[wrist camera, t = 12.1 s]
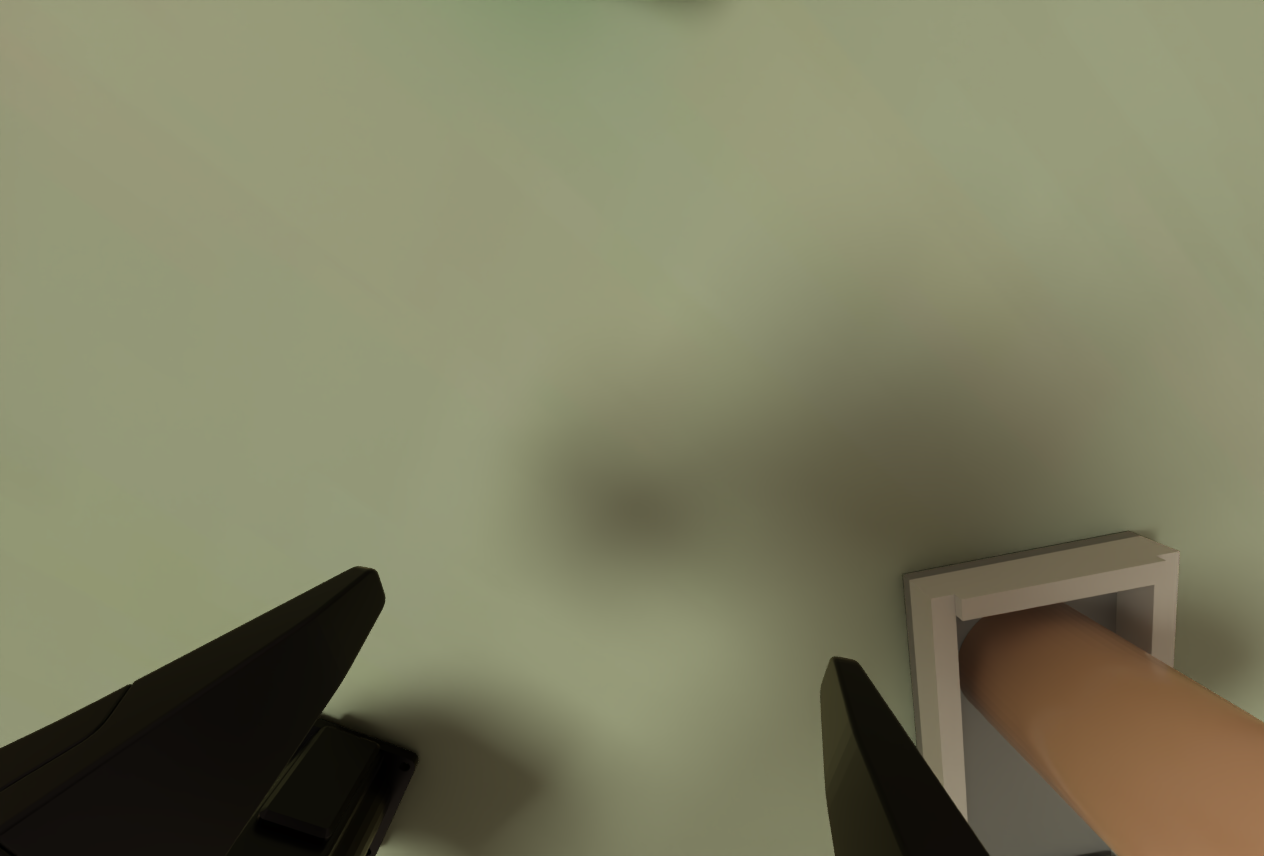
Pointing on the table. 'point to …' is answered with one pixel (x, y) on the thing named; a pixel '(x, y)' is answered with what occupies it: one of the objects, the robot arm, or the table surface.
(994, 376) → the table surface
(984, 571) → the lane
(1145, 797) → the jar
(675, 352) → the table surface
